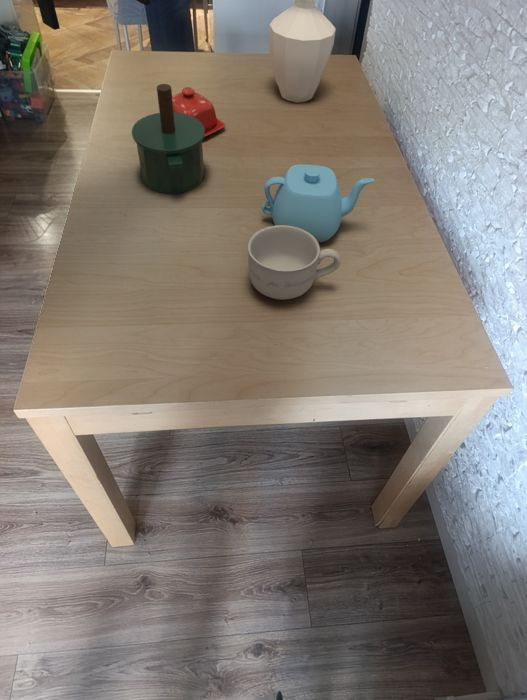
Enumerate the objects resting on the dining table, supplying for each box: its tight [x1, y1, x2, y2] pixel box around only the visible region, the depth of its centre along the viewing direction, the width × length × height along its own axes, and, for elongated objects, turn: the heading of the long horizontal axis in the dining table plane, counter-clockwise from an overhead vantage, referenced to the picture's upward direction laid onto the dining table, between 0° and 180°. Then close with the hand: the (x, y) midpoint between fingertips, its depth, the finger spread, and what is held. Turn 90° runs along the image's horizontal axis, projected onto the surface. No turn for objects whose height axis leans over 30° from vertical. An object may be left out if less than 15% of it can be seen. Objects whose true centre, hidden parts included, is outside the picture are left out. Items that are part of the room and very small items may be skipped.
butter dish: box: [172, 86, 226, 138], centre depth 103 cm, size 12×12×8 cm
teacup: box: [247, 225, 342, 300], centre depth 77 cm, size 14×11×8 cm
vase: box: [268, 0, 337, 104], centre depth 109 cm, size 14×14×25 cm
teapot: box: [261, 164, 375, 243], centre depth 85 cm, size 13×11×18 cm
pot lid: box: [131, 83, 206, 153], centre depth 87 cm, size 13×13×9 cm
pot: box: [136, 141, 205, 195], centre depth 93 cm, size 12×17×8 cm
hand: (98, 13), depth 65 cm, fingers open, 13 cm apart
